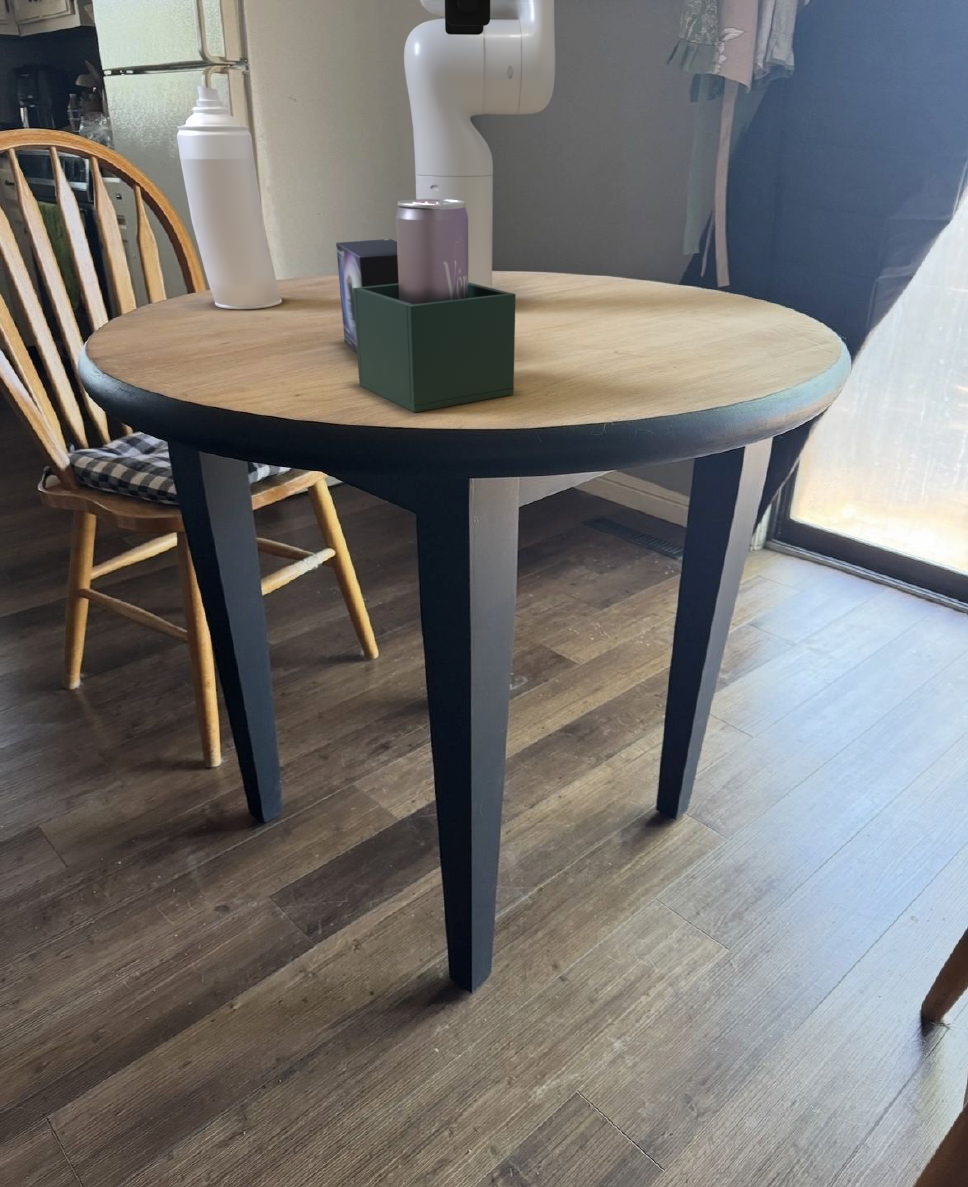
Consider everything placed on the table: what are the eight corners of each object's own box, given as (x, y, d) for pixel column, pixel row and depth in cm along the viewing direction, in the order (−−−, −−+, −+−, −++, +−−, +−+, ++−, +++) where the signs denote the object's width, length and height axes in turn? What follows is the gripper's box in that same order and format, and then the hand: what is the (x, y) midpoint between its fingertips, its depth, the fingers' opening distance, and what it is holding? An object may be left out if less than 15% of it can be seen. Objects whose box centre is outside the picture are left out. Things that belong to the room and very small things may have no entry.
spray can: (291, 310, 112) (269, 84, 100) (205, 316, 108) (172, 83, 96) (276, 295, 121) (253, 87, 109) (196, 300, 118) (164, 86, 106)
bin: (359, 385, 80) (352, 287, 76) (453, 370, 85) (451, 277, 81) (414, 412, 73) (410, 306, 69) (513, 394, 78) (515, 294, 74)
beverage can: (433, 371, 83) (429, 197, 75) (482, 381, 79) (482, 201, 72) (389, 384, 79) (380, 201, 71) (438, 395, 75) (434, 206, 68)
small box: (340, 343, 96) (332, 240, 91) (397, 338, 98) (393, 238, 93) (363, 365, 87) (356, 253, 82) (425, 360, 89) (422, 250, 84)
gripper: (413, -222, 69) (420, 37, 77) (408, -313, 53) (417, 20, 62) (508, -219, 69) (505, 37, 77) (530, -310, 54) (523, 21, 62)
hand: (466, 30), depth 70 cm, fingers open, 9 cm apart
